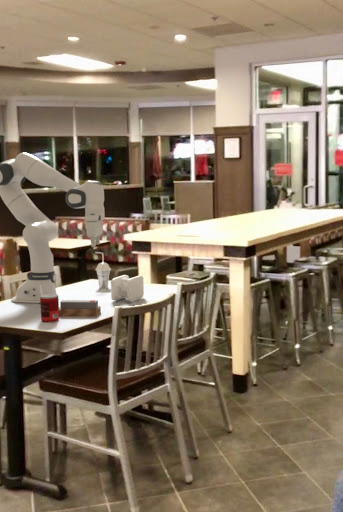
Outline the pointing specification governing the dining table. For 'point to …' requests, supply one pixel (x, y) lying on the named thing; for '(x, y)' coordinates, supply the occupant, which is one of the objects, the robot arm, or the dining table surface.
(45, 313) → the canned food
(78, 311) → the wooden tray
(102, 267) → the cup with straw
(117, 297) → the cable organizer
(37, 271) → the robot arm
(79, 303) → the gray bar with feet
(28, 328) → the dining table surface
